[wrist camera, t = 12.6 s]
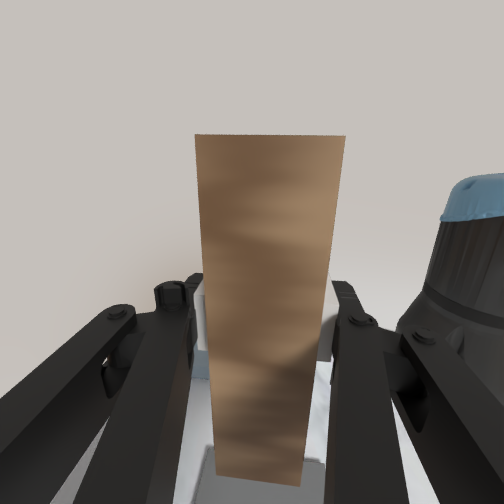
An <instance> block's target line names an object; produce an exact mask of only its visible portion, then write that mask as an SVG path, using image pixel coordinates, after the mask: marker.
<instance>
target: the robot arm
mask: <svg viewBox="0 0 504 504" xmlns="http://www.w3.org/2000/svg"><path fill="white" fill-rule="evenodd" d="M440 221H441V223H440V227H439V231H438V234H437V238H436V241H435V245H434V249H433V252H432V256H431V259H430V263H429V267H428V270H427V274H426V278H425V282H424V285H423V289H422V291H421V292H420V294H419V295H418V296H417V298H416V299H415V300H414V301H413V303H412V304H411V305H410V307H409V308H408V309H407V311H406V312H405V313H404V315H403V316H402V317H401V318H400V319H399V321H398V323H397V327H396V331H395V332H392V331H388V330H385V329H382V328H380V327H378V323H377V321H376V319H374V318H373V317H372V316H370V315H369V314H367V313H365V312H364V310H363V308H362V306H361V303H360V301H359V299H358V297H357V295H356V294H355V291H354V289H353V287H352V286H351V285H350V284H348V283H347V282H346V281H331V279H330V276H329V273H328V276H327V284H326V291H325V299H324V307H323V314H322V322H321V330H320V338H319V345H318V353H317V361H324V362H331V355H332V354H333V358H334V362H333V368H332V374H331V380H330V385H331V396H330V411H329V426H328V442H327V457H326V472H325V487H324V503H323V504H409V498H408V492H407V487H406V481H405V475H404V470H403V464H402V458H401V452H400V447H399V441H398V435H397V430H396V424H395V418H394V412H393V407H392V401H393V403H394V405H395V407H396V409H397V411H398V414H399V416H400V418H401V420H402V422H403V424H404V427H405V429H406V431H407V433H408V435H409V437H410V440H411V442H412V444H413V446H414V448H415V451H416V453H417V455H418V457H419V459H420V461H421V464H422V466H423V468H424V470H425V472H426V474H427V477H428V479H429V481H430V483H431V485H432V487H433V490H434V492H435V494H436V496H437V498H438V500H439V503H440V504H504V173H498V174H487V175H478V176H472V177H469V178H466V179H464V180H462V181H460V182H459V183H457V184H456V185H455V186H454V188H453V189H452V191H451V193H450V196H449V199H448V202H447V204H446V207H445V210H444V213H443V214H442V215H441V217H440ZM154 294H155V301H156V310H155V311H154V312H149V313H140V314H136V311H135V308H134V307H133V306H132V305H128V304H119V305H114V306H111V307H109V308H107V309H105V310H103V311H102V312H101V313H99V314H98V315H97V316H96V317H95V318H94V319H93V320H91V321H90V322H89V323H88V324H87V325H85V326H84V327H83V328H82V329H81V330H80V331H79V332H77V333H76V334H75V335H74V336H73V337H72V338H70V339H69V340H68V341H67V342H66V343H65V344H63V345H62V346H61V347H60V348H59V349H58V350H56V351H55V352H54V353H53V354H52V355H51V356H49V357H48V358H47V359H46V360H45V361H44V362H43V363H42V364H40V365H39V366H38V367H37V368H35V369H34V370H33V371H32V372H31V373H30V374H28V375H27V376H26V377H25V378H24V379H23V380H22V381H20V382H19V383H18V384H17V385H16V386H15V387H13V388H12V389H11V390H10V391H9V392H8V393H6V394H5V395H4V396H3V397H2V398H1V399H0V504H50V502H51V501H52V499H53V498H54V496H55V495H56V493H57V492H58V490H59V489H60V488H61V486H62V485H63V483H64V482H65V480H66V479H67V477H68V476H69V474H70V473H71V472H72V470H73V469H74V467H75V466H76V464H77V463H78V461H79V460H80V458H81V457H82V456H83V454H84V453H85V451H86V450H87V448H88V447H89V445H90V444H91V442H92V441H93V440H94V438H95V437H96V435H97V434H98V432H99V431H100V429H101V428H102V426H103V425H104V424H105V422H106V421H107V419H108V418H109V419H108V422H107V424H106V426H105V429H104V431H103V433H102V436H101V438H100V441H99V443H98V445H97V448H96V450H95V452H94V455H93V457H92V459H91V462H90V464H89V466H88V469H87V471H86V473H85V476H84V478H83V480H82V483H81V485H80V487H79V490H78V492H77V494H76V497H75V499H74V501H73V504H173V497H174V490H175V483H176V477H177V470H178V463H179V457H180V450H181V443H182V437H183V430H184V423H185V416H186V410H187V403H188V396H189V390H190V383H191V376H192V369H193V363H194V346H195V344H196V341H197V344H198V350H204V351H208V341H207V325H206V309H205V293H204V277H203V273H194V274H193V275H191V276H189V277H188V279H187V280H186V281H185V282H182V281H168V282H164V283H162V284H159V285H158V286H156V287H155V288H154ZM106 358H107V359H108V360H107V361H106V362H105V363H104V364H103V362H104V360H105V359H106ZM102 364H103V365H102ZM391 398H392V401H391ZM109 416H110V417H109Z"/></svg>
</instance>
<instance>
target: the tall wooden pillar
mask: <svg viewBox="0 0 504 504" xmlns="http://www.w3.org/2000/svg"><path fill="white" fill-rule="evenodd" d="M344 145H345V136H317V135H303V136H302V135H200V134H195V147H196V148H195V149H196V165H197V179H198V180H197V181H198V197H199V213H200V229H201V245H202V260H203V277H204V293H205V309H206V325H207V341H208V357H209V373H210V389H211V405H212V421H213V437H214V453H215V469H216V475H218V476H225V477H232V478H239V479H246V480H253V481H260V482H268V483H275V484H282V485H289V486H296V487H300V484H301V477H302V469H303V461H304V453H305V446H306V438H307V430H308V422H309V415H310V407H311V399H312V392H313V384H314V376H315V368H316V361H317V353H318V345H319V338H320V330H321V322H322V314H323V307H324V299H325V291H326V284H327V276H328V268H329V260H330V253H331V244H332V236H333V229H334V222H335V214H336V206H337V199H338V191H339V183H340V175H341V167H342V160H343V152H344Z"/></svg>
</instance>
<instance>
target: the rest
mask: <svg viewBox="0 0 504 504" xmlns="http://www.w3.org/2000/svg"><path fill="white" fill-rule="evenodd" d="M324 487H325V464H324V463H316V462H309V461H303V469H302V477H301V484H300V487H296V486H289V485H282V484H275V483H268V482H260V481H253V480H246V479H239V478H232V477H225V476H218V475H216V469H215V453H214V449H208V452H207V456H206V460H205V464H204V468H203V472H202V476H201V480H200V484H199V488H198V492H197V496H196V500H195V504H323V503H324Z"/></svg>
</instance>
